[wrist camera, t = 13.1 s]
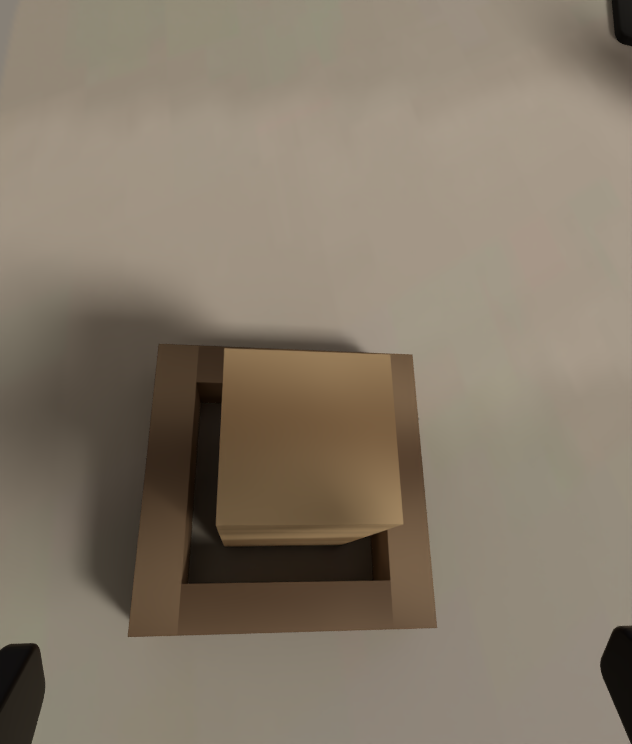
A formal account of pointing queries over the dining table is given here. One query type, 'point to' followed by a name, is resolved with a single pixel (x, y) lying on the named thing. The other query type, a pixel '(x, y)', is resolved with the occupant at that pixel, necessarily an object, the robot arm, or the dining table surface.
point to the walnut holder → (266, 599)
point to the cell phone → (623, 20)
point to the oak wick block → (306, 448)
